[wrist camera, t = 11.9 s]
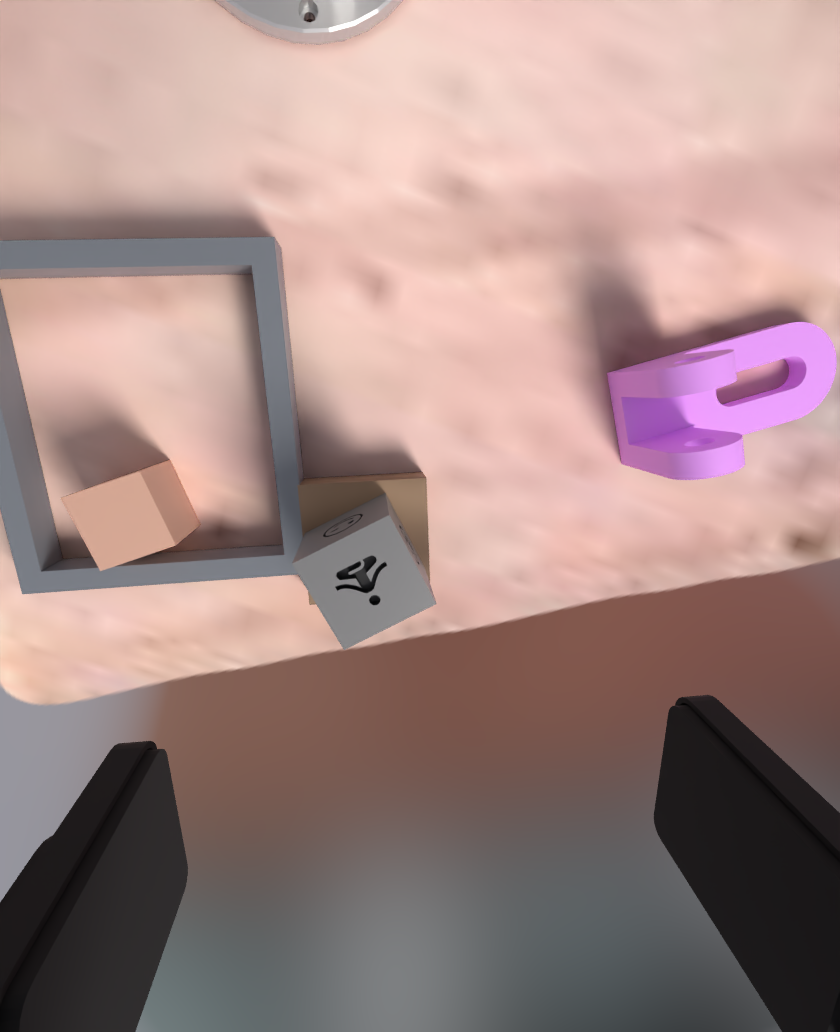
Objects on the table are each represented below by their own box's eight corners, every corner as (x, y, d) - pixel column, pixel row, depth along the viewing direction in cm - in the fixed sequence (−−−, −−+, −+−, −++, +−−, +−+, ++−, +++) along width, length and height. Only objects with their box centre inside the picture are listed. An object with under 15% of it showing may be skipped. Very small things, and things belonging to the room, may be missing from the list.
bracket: (620, 463, 31) (690, 484, 24) (605, 372, 29) (676, 368, 23) (818, 406, 31) (941, 411, 25) (813, 313, 30) (942, 292, 23)
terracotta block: (102, 482, 28) (60, 498, 24) (170, 459, 28) (139, 471, 24) (135, 546, 29) (100, 571, 25) (201, 524, 29) (176, 545, 25)
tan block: (302, 478, 29) (297, 485, 27) (422, 471, 30) (426, 477, 28) (313, 591, 31) (309, 604, 29) (426, 582, 31) (430, 595, 29)
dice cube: (385, 492, 28) (389, 514, 23) (424, 567, 29) (436, 603, 24) (305, 533, 28) (291, 564, 23) (347, 606, 29) (344, 649, 24)
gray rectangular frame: (-35, 252, 25) (-69, 241, 23) (281, 248, 26) (274, 236, 24) (45, 580, 29) (22, 594, 27) (311, 561, 30) (308, 573, 28)
